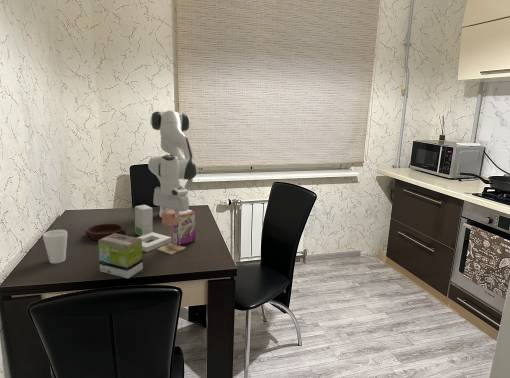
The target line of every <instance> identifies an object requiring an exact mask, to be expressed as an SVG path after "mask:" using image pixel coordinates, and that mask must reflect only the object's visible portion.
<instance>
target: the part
mask: <svg viewBox="0 0 510 378" xmlns="http://www.w3.org/2000/svg"><path fill="white" fill-rule="evenodd" d="M173 214H175V211H173V210H172V211H169V212H165V213H162V217H161V224H162V226H163V225H164V226H167V227H171V226H173V225H174V224H177V223H179V213H178V217H177V218H173Z"/></svg>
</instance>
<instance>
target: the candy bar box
mask: <svg viewBox="0 0 510 378" xmlns="http://www.w3.org/2000/svg"><path fill="white" fill-rule="evenodd" d="M196 213H197V212H196V211H193V210H192V209H189V210H188V211H183V212H179V223H177V224H174V225H172V243H173V244H176V245H180V246H183V245H186V244H189V243H193V242H195V241H196V215H197V214H196Z"/></svg>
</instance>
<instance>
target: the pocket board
mask: <svg viewBox="0 0 510 378" xmlns="http://www.w3.org/2000/svg"><path fill="white" fill-rule="evenodd" d="M137 238H141V239H142V252H145V253H148V252H150V251H152V250H155V249H156V250H157V249H158V248H160V247H163V246H165V245H168V244H170V243H173V236H172V237H171V236H168V235H163V234H161V233H157V232H154V231H152V233H149V234H146V235H143V236H140V235H139V236H137Z"/></svg>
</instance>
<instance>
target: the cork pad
mask: <svg viewBox="0 0 510 378" xmlns="http://www.w3.org/2000/svg"><path fill="white" fill-rule="evenodd" d="M186 248H187V247H186V246H183V245H176V244H174V243H173V242H170V243H168V244H165V245H163V246H161V247H158V248H156V251H158V252H162V253H165V254H168V255H174V254H176V253H179V252H181V251H183V250H185V249H186Z"/></svg>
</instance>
